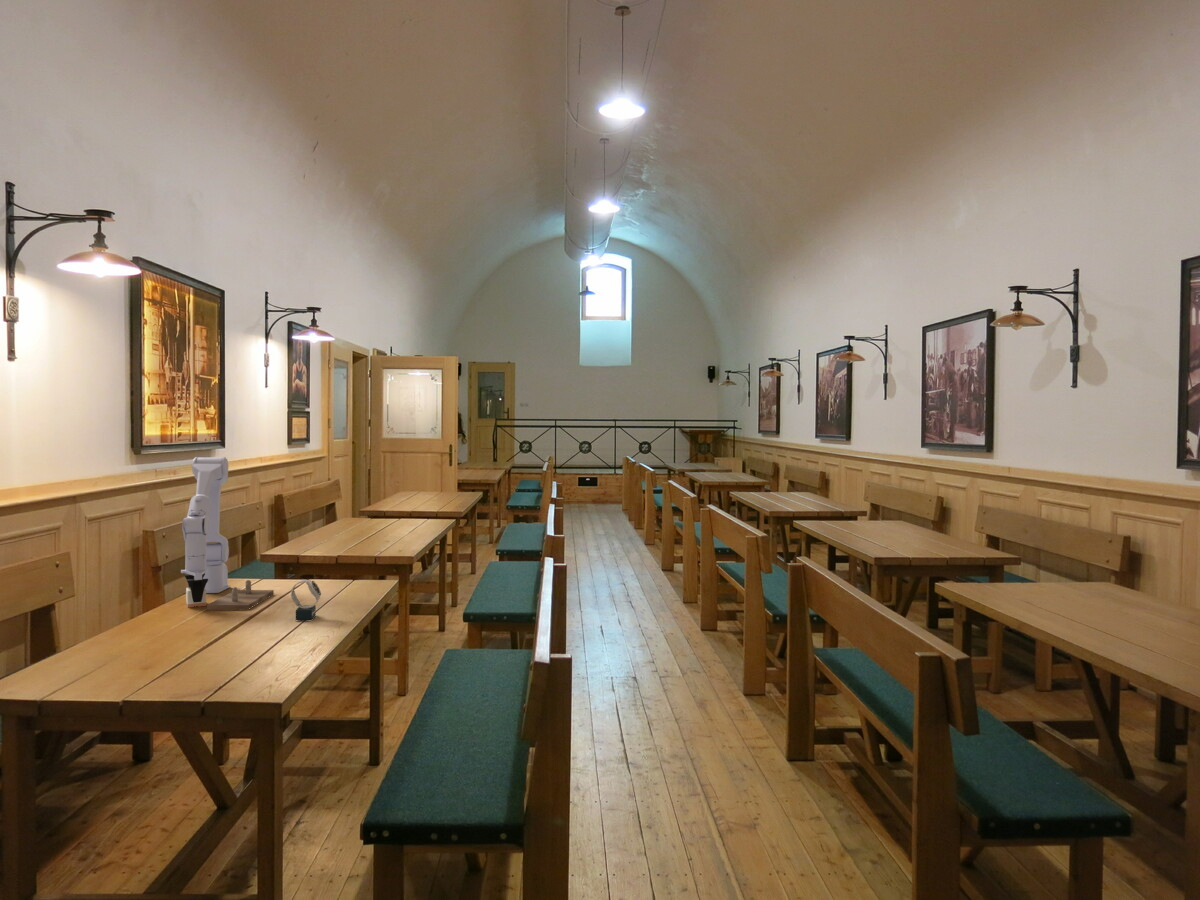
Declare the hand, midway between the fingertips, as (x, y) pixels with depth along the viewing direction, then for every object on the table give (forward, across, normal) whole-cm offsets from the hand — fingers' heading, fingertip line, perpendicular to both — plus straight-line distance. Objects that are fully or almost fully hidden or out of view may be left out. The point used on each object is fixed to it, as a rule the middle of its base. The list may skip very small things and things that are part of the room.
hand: (196, 599), depth 235 cm
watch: (+2, +32, +25) cm, 41 cm away
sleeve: (+2, 0, 0) cm, 2 cm away
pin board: (+2, +2, +12) cm, 13 cm away
